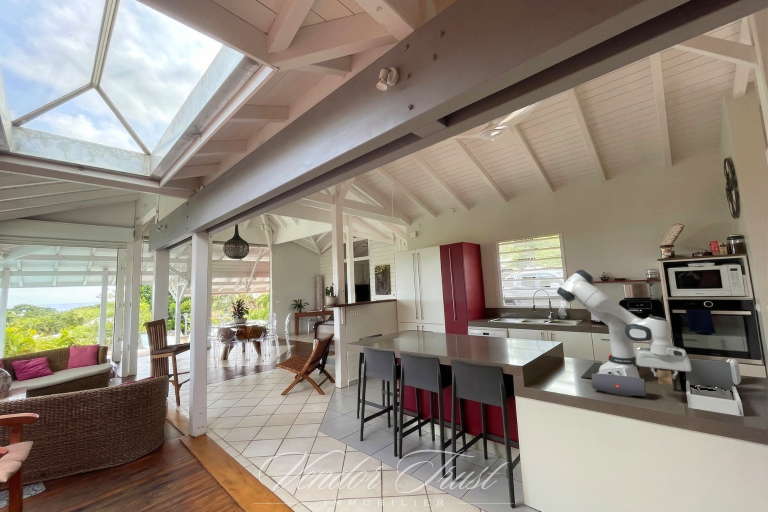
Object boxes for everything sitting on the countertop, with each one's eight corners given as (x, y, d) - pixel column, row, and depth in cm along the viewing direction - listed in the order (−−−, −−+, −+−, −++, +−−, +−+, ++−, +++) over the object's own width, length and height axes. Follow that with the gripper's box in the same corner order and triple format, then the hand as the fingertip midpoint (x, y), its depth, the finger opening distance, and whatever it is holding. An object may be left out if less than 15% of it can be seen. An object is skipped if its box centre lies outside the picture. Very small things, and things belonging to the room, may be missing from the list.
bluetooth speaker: (593, 393, 171) (590, 375, 171) (594, 388, 178) (592, 370, 179) (646, 401, 156) (644, 381, 157) (646, 394, 164) (643, 375, 164)
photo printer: (730, 379, 174) (727, 356, 175) (742, 380, 170) (738, 357, 171) (726, 384, 168) (723, 360, 169) (738, 385, 164) (734, 362, 165)
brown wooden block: (658, 383, 154) (657, 371, 154) (658, 379, 159) (657, 367, 159) (672, 385, 150) (670, 372, 151) (672, 381, 156) (670, 368, 156)
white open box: (688, 407, 147) (686, 394, 147) (687, 392, 162) (686, 380, 163) (743, 416, 135) (741, 402, 135) (737, 399, 151) (735, 386, 151)
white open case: (688, 400, 154) (683, 369, 154) (687, 385, 170) (683, 357, 171) (740, 407, 142) (735, 374, 143) (734, 391, 158) (729, 361, 159)
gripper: (634, 348, 160) (637, 375, 159) (689, 353, 146) (693, 383, 146) (635, 345, 165) (638, 372, 164) (689, 350, 151) (692, 379, 150)
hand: (664, 377), depth 155 cm, fingers closed on brown wooden block, 5 cm apart
